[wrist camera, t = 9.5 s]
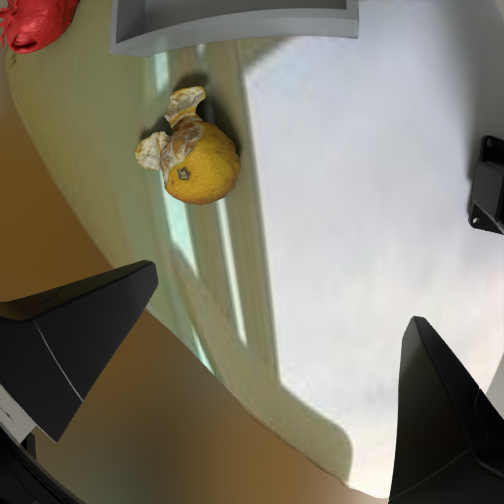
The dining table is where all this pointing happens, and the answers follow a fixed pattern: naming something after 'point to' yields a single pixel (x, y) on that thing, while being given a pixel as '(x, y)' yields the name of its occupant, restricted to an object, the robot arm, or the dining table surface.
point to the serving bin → (223, 22)
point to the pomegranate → (35, 23)
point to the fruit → (191, 153)
